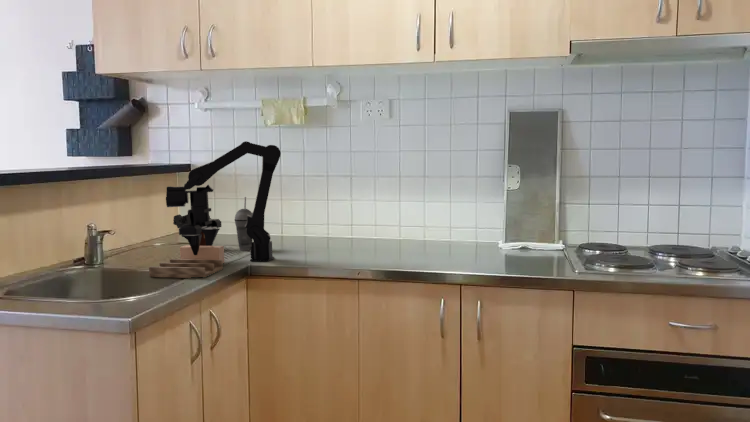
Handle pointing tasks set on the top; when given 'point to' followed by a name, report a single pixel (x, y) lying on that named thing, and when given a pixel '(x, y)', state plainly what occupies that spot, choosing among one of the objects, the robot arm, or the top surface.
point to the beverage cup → (243, 228)
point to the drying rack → (186, 268)
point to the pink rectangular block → (203, 253)
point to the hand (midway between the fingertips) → (202, 252)
